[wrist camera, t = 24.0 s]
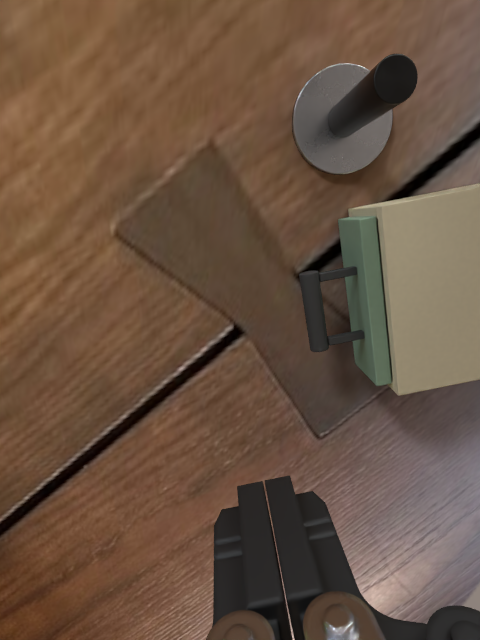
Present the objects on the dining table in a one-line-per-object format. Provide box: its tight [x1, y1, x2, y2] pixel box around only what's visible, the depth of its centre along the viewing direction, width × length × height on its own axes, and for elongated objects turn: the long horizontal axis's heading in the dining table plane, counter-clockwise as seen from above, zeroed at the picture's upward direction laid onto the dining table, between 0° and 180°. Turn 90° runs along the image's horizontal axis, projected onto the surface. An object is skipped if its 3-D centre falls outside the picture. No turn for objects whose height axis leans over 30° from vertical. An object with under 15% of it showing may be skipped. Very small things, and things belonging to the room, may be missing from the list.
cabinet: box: [348, 183, 480, 396], centre depth 30 cm, size 16×14×7 cm
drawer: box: [299, 216, 392, 386], centre depth 30 cm, size 19×12×5 cm, turn 101°
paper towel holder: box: [292, 54, 417, 175], centre depth 25 cm, size 8×8×10 cm
